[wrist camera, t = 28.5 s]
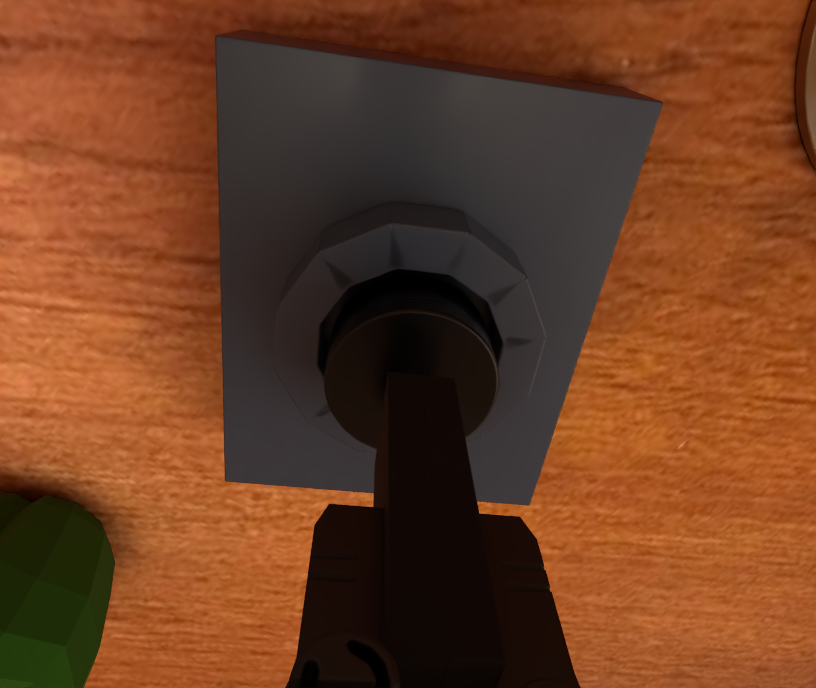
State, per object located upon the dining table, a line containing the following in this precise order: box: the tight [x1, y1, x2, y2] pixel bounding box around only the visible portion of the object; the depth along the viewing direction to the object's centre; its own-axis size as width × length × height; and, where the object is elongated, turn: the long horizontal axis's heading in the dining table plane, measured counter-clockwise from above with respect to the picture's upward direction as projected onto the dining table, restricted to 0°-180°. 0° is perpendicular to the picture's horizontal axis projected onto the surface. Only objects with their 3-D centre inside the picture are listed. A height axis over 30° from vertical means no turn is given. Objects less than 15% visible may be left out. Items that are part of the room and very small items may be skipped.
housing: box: [215, 30, 663, 505], centre depth 18 cm, size 14×11×4 cm
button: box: [324, 276, 499, 449], centre depth 16 cm, size 4×4×2 cm
